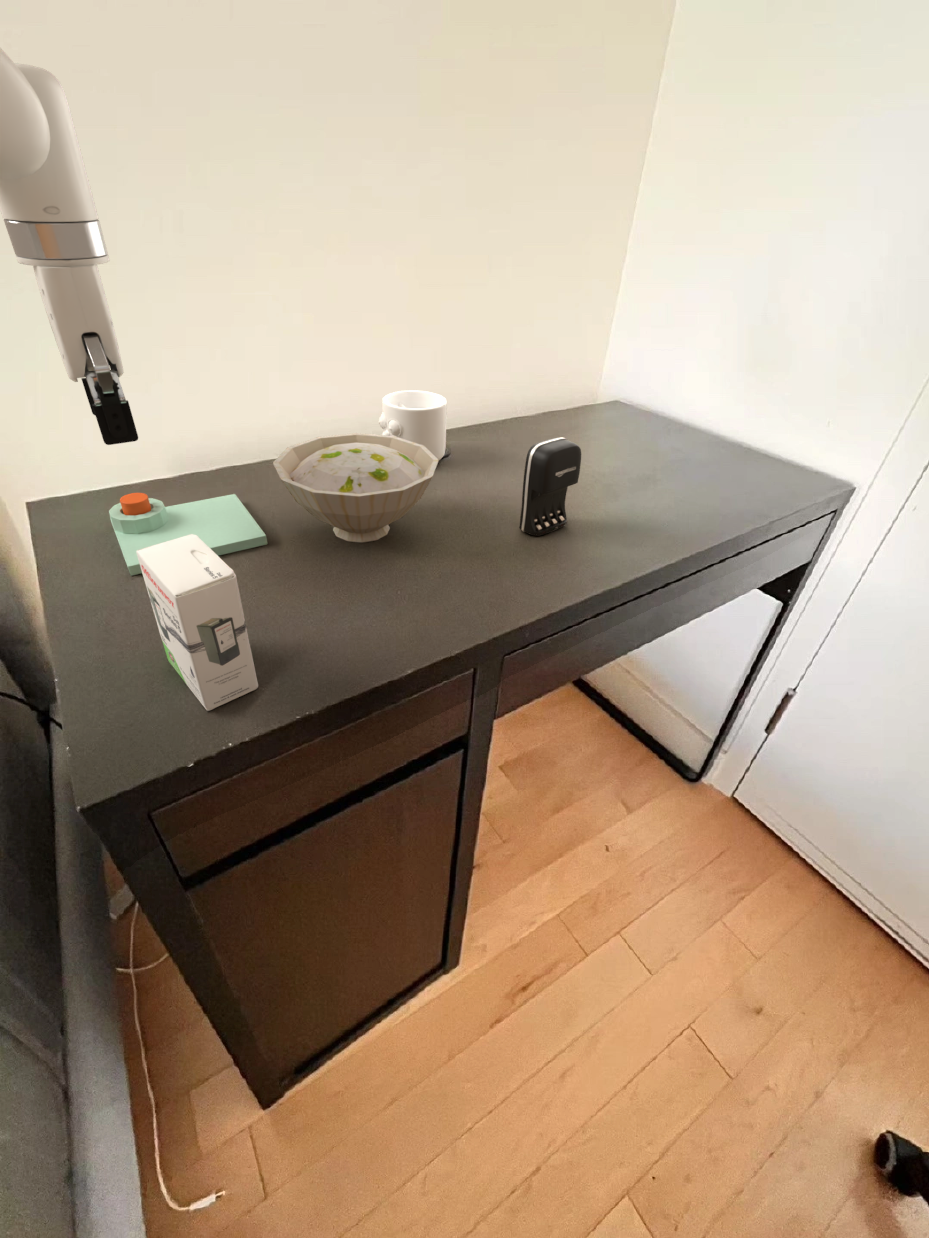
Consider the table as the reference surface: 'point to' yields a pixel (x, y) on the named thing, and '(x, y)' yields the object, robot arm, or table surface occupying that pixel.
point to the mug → (416, 418)
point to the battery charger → (548, 484)
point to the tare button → (135, 504)
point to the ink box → (199, 618)
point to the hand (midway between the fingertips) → (115, 427)
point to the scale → (187, 527)
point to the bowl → (357, 480)
